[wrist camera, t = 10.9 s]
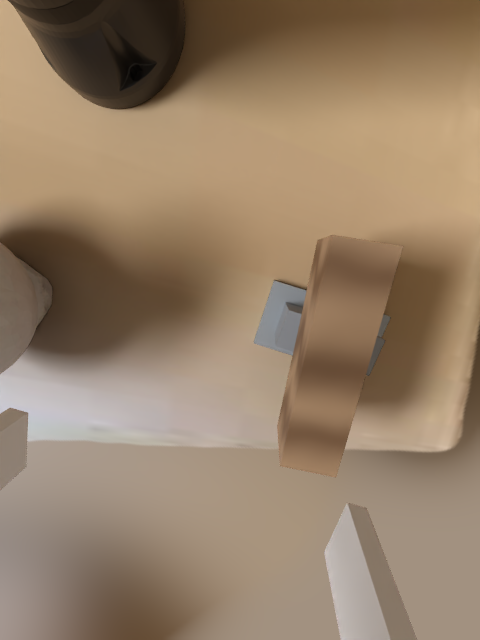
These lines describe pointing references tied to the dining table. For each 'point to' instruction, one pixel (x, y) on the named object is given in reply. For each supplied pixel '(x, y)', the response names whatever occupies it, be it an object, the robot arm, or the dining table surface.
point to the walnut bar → (333, 349)
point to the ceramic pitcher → (19, 305)
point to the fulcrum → (294, 321)
